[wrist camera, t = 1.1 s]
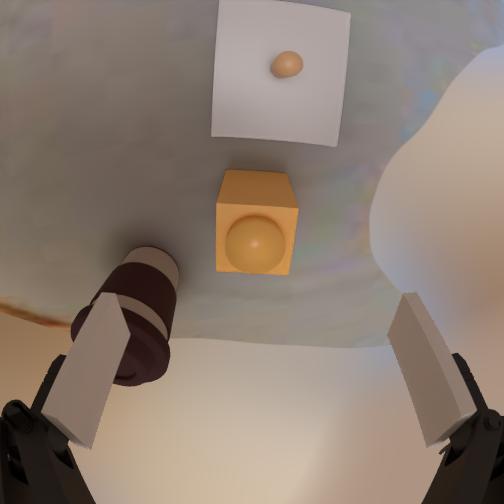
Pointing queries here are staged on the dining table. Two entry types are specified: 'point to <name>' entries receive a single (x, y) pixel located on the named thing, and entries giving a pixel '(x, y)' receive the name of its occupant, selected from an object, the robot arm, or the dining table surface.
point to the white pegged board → (279, 71)
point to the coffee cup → (141, 313)
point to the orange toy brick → (255, 223)
